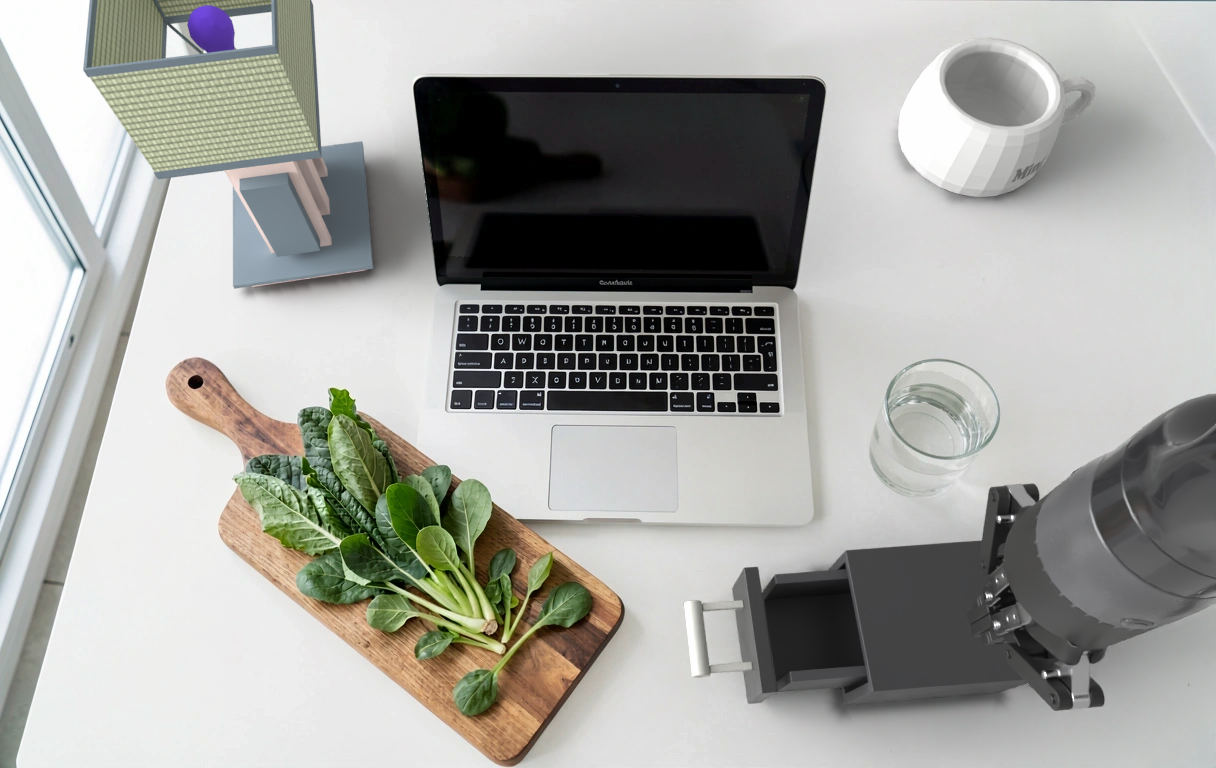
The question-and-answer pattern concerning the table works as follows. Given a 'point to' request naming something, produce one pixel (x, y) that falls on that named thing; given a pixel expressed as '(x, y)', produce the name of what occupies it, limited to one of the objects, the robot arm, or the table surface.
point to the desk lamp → (238, 128)
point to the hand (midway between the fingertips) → (984, 624)
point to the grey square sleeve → (921, 623)
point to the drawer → (786, 633)
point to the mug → (986, 116)
